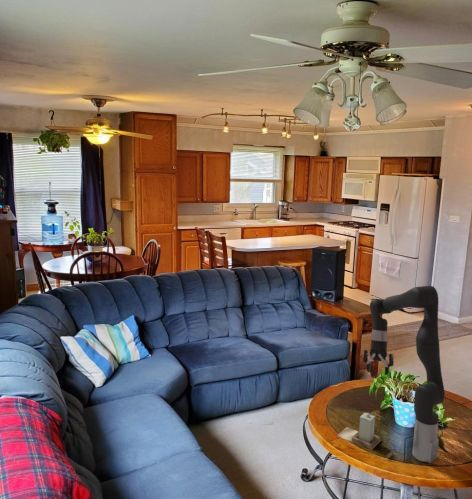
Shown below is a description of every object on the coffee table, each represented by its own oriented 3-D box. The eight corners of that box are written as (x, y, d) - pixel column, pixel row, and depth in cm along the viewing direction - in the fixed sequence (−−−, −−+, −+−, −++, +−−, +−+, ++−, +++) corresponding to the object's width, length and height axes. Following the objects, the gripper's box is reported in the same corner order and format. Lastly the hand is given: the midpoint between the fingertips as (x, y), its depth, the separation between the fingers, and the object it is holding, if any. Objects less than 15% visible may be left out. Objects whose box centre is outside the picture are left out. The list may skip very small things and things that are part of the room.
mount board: (380, 442, 208) (380, 436, 207) (371, 452, 200) (371, 446, 200) (346, 429, 219) (346, 423, 218) (336, 438, 211) (337, 432, 211)
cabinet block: (373, 440, 207) (375, 413, 205) (368, 445, 204) (370, 418, 202) (363, 436, 211) (364, 410, 209) (358, 441, 207) (360, 414, 205)
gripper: (362, 338, 224) (360, 371, 222) (390, 341, 215) (389, 376, 213) (368, 337, 230) (366, 370, 228) (396, 341, 221) (394, 375, 219)
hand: (377, 373), depth 220 cm, fingers open, 8 cm apart
